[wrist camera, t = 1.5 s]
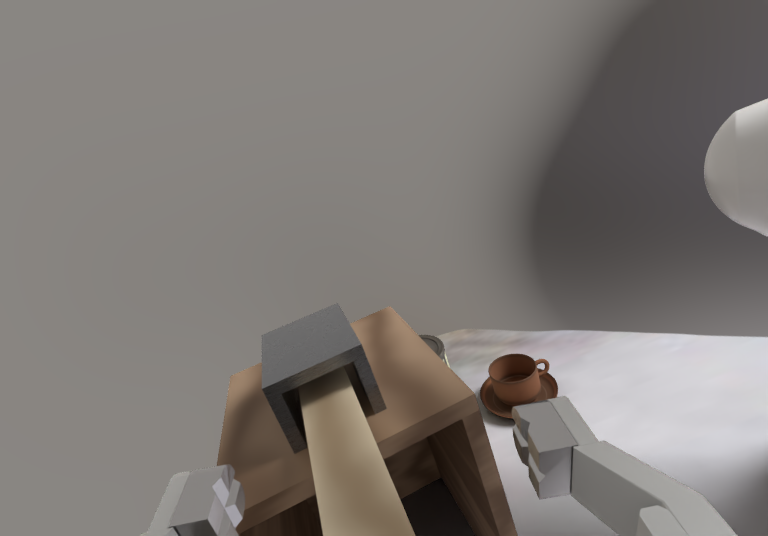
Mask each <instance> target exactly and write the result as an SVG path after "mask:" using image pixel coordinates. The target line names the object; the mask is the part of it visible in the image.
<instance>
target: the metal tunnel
mask: <svg viewBox="0 0 768 536" xmlns="http://www.w3.org/2000/svg"><path fill="white" fill-rule="evenodd" d="M350 362H351V364H352V366H353V368H354V370H355V373H356V375H357V377H358V379H359V381H360V383H361V385H362V387H363V390H364V392H365V394H366V396H367V398H368V400H369V402H370V404H371V407H372V409H373V411H374V413H375V414H377V413H379V412H381V411H383V410H385V409H387V408H386V405H385V403H384V400H383V397H382V395H381V392H380V390H379V387H378V385H377V382H376V380H375V377H374V374H373V372H372V369H371V367H370V364H369V362H368V359H367V357H366V354H365V351H364V349H363V346H362V344H361V342H360V340H359V339H358V337H357V335H356V334H355V332H354V330H353V328H352V327H351V325H350V323H349V322H348V320H347V318H346V317H345V315H344V313H343V311H342V310H341V308H340V306H339V305H338V303H337V304H334V305H332V306H330V307H327V308H325V309H322V310H320V311H318V312H316V313H313V314H311V315H309V316H306V317H304V318H301V319H299V320H297V321H294V322H292V323H290V324H287V325H285V326H282V327H280V328H278V329H275V330H273V331H271V332H268V333H266V334H264V335H262V390H263V392H264V394H265V396H266V398H267V400H268V402H269V404H270V406H271V408H272V410H273V412H274V414H275V416H276V418H277V420H278V422H279V424H280V426H281V428H282V430H283V432H284V434H285V436H286V438H287V440H288V442H289V444H290V446H291V448H292V450H293V452H294V454H296V453H298V452H300V451H302V450H304V449H306V448H307V444H306V438H305V432H304V426H303V420H302V414H301V408H300V401H299V395H298V389H297V387H298V386H300V385H302V384H305V383H307V382H309V381H311V380H313V379H316V378H318V377H320V376H322V375H324V374H326V373H329V372H331V371H333V370H335V369H337V368H340V367H342V366H344V365H346V364H348V363H350Z"/></svg>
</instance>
